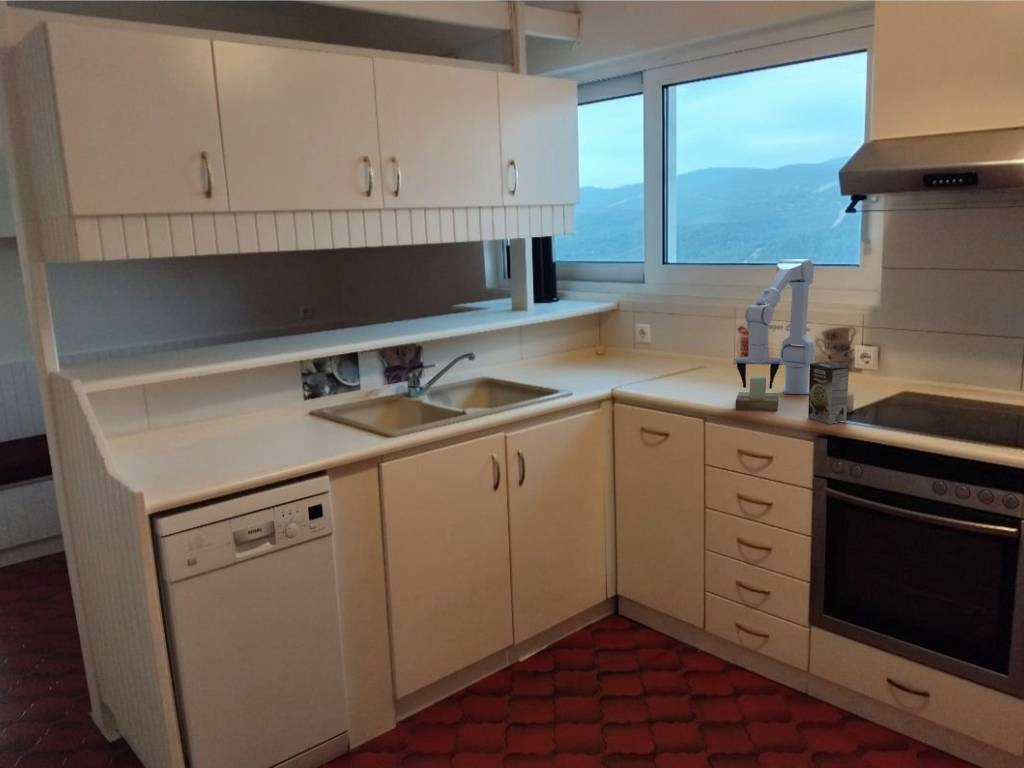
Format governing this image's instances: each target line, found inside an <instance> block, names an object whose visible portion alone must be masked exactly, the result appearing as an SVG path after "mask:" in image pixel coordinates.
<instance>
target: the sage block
mask: <svg viewBox="0 0 1024 768" xmlns="http://www.w3.org/2000/svg"><path fill="white" fill-rule="evenodd" d="M766 388H767V377H766V376H755V375H754V376H750V378H749V393H750V398H755V399H765V396H766V393H767V390H766Z"/></svg>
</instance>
